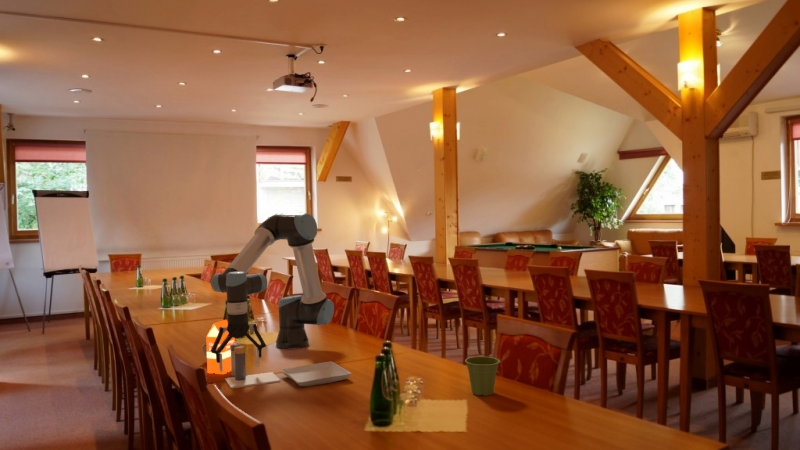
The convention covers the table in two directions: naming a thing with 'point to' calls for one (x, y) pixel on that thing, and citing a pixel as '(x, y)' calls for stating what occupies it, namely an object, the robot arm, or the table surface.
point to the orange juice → (226, 353)
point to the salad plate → (316, 373)
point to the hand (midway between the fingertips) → (239, 368)
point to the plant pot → (482, 374)
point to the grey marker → (233, 358)
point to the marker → (240, 363)
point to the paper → (253, 380)
